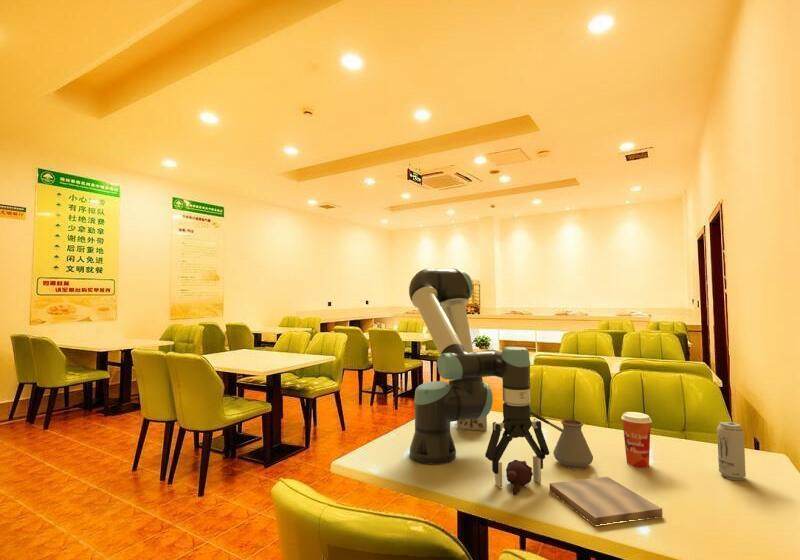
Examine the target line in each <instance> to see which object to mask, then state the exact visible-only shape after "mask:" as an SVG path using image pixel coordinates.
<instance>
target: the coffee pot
mask: <svg viewBox="0 0 800 560" xmlns="http://www.w3.org/2000/svg"><path fill="white" fill-rule="evenodd" d="M531 416H533V418H535V419H536V420H538V421H540V422H543V423H545V424H547V425H549V426H551V427H552V428H554V429H556V430H558V431H559V432H561V433H560V436H559V437H558V439H557V442H556V445H555V447H554V449H553V450H552V451H553V452H552V454H553V456H554V459H555V460H556V461H557V462H558V463H559V464H560V466H562V467H565V468H567V469H571V470H572V469H573V470H584V469H586V468H587V467H589V466H590V464H592V463H593V460H594V455H593V454H592V451H591V449H590V447H589V444H588V443H587V440H586V437H585V435H584V433H583V431H582V427H583V426H584V423H583V422H582V421H580V420H577V419H563V420H561V421H560V423H561V425H562V427H563V428H562V427H560V426H557V425H556V424H554V423H552V422H550V421H549V420H548V419H546V418H544V417H542V416H541V415H539V414H537V413H535V412H533V411H532V410H531Z"/></svg>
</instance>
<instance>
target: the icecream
mask: <svg viewBox="0 0 800 560" xmlns="http://www.w3.org/2000/svg"><path fill="white" fill-rule="evenodd" d="M505 472H506V473H505V475H506V480H507V482H508V483H510V485H512V494H513V496H517V495H519V494H520V489H521V488H524V487H525V486H526V485H528V484H529V483H531V481H532V479H533V467H531V466H530V465H528V464H527V461H526V460H518V459H513V460H512V461H509V462H508V464H507V466H506V469H505Z"/></svg>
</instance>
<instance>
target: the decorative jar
mask: <svg viewBox="0 0 800 560" xmlns="http://www.w3.org/2000/svg"><path fill="white" fill-rule="evenodd" d="M487 416H488V415H487ZM487 416H485V417H482V418H478V419H470V420H461V421H456V430H459V429H464V431H479V432H487V430H488V429H487V428H488V425H487V423H488V421H487V420H488V419H487V418H488V417H487Z"/></svg>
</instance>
